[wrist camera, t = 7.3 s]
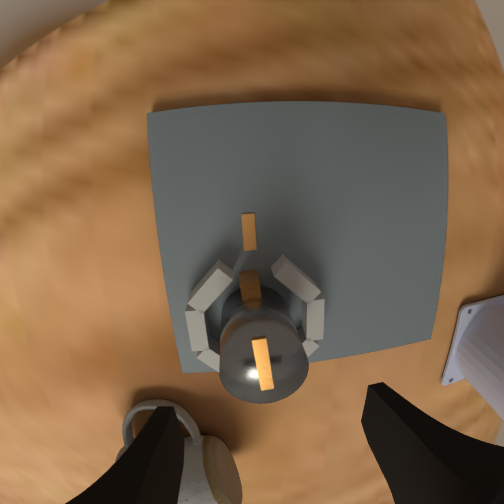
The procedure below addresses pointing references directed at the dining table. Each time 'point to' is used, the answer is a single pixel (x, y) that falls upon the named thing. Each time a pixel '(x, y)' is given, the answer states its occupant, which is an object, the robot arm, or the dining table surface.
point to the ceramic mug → (197, 461)
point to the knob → (259, 344)
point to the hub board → (302, 219)
